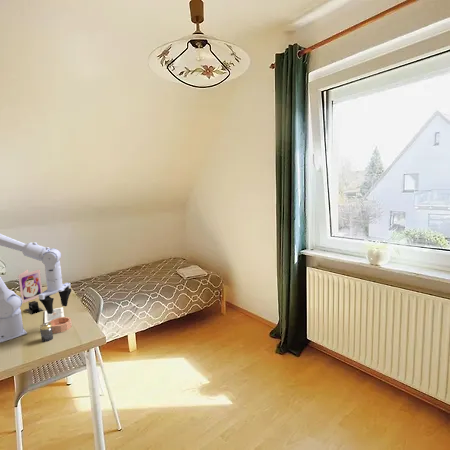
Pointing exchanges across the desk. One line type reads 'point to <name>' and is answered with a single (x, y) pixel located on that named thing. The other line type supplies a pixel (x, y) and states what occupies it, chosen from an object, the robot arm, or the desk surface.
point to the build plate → (33, 308)
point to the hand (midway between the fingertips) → (57, 309)
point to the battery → (46, 332)
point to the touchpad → (54, 314)
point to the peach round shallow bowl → (61, 324)
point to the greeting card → (30, 285)
